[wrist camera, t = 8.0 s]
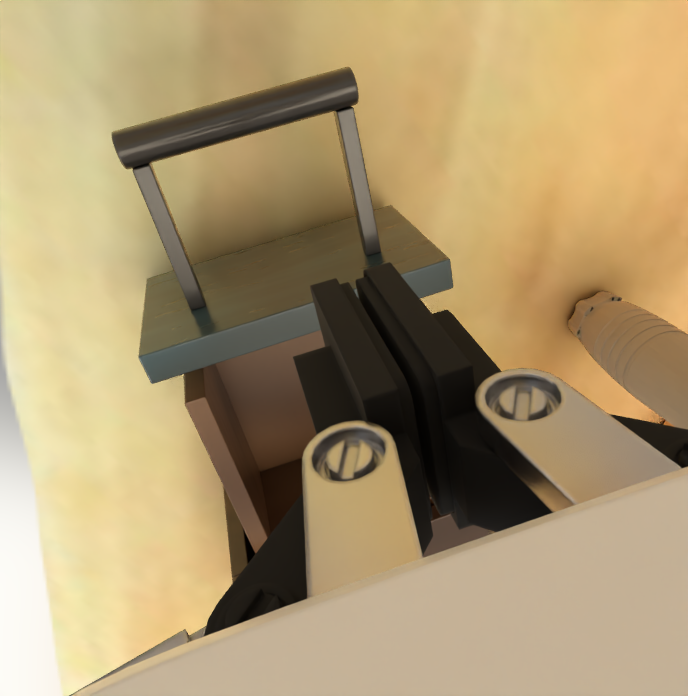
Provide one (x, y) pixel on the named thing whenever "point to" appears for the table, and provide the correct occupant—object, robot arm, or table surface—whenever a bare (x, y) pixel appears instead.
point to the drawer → (260, 295)
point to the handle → (637, 352)
